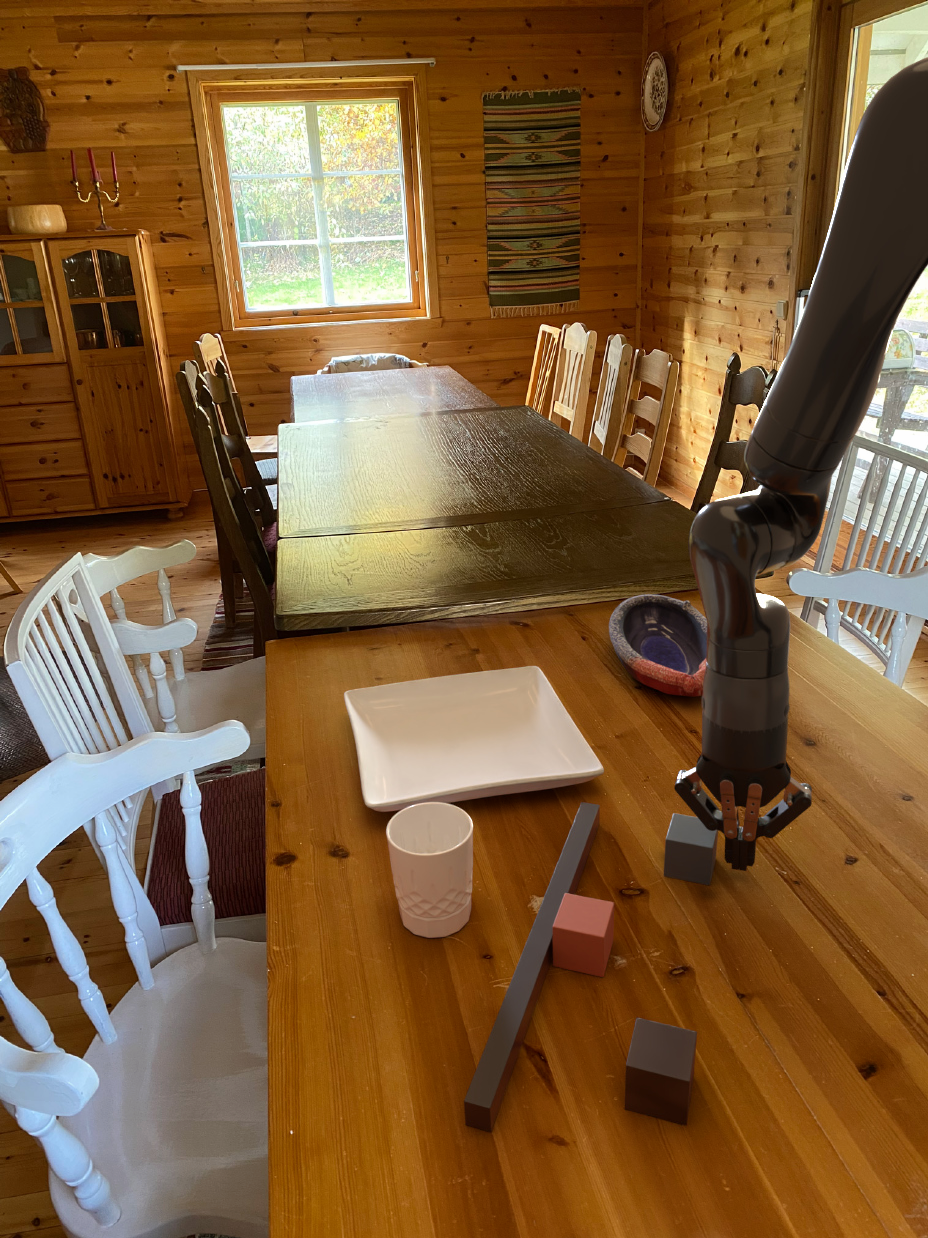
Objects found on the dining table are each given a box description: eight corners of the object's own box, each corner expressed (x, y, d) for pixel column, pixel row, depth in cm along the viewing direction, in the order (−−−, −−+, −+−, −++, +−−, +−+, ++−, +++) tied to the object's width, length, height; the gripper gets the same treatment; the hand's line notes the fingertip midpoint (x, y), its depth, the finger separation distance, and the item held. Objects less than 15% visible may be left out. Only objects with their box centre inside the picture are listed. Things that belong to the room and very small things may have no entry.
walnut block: (693, 1074, 70) (697, 1031, 68) (686, 1126, 66) (689, 1081, 64) (634, 1060, 71) (636, 1017, 69) (624, 1109, 67) (625, 1065, 66)
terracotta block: (613, 941, 83) (614, 902, 81) (603, 978, 79) (604, 937, 77) (564, 931, 84) (564, 892, 82) (552, 966, 80) (552, 926, 79)
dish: (695, 616, 147) (697, 587, 145) (744, 711, 119) (748, 677, 117) (598, 619, 148) (599, 590, 146) (625, 714, 120) (626, 680, 118)
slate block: (716, 857, 93) (719, 821, 91) (709, 886, 89) (713, 848, 87) (671, 849, 94) (673, 812, 93) (663, 876, 91) (665, 839, 89)
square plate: (368, 834, 99) (364, 805, 97) (345, 713, 123) (342, 687, 122) (606, 795, 103) (607, 766, 102) (538, 685, 128) (538, 660, 126)
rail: (599, 824, 99) (599, 804, 98) (491, 1132, 66) (490, 1108, 65) (581, 821, 99) (581, 801, 98) (465, 1125, 67) (463, 1101, 66)
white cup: (428, 875, 92) (421, 792, 88) (493, 904, 88) (489, 818, 84) (377, 922, 86) (368, 836, 82) (444, 956, 82) (438, 866, 78)
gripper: (823, 695, 84) (812, 852, 91) (677, 684, 89) (676, 834, 95) (822, 734, 78) (810, 901, 84) (665, 720, 82) (665, 878, 89)
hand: (739, 865), depth 90 cm, fingers closed
